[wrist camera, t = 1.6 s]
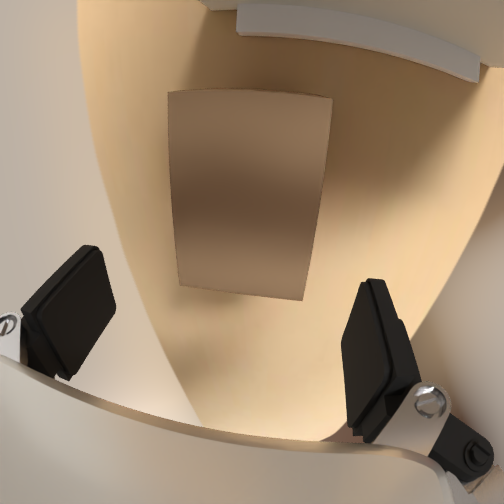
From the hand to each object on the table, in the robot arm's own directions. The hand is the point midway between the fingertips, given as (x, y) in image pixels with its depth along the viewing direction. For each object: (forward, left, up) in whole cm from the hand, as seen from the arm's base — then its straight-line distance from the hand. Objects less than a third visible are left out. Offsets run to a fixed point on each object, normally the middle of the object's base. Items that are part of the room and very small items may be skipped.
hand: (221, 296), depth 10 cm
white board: (-13, +6, -12) cm, 19 cm away
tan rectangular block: (-2, 0, -12) cm, 12 cm away
